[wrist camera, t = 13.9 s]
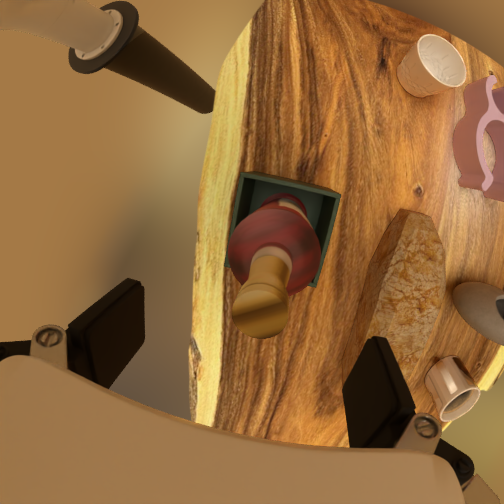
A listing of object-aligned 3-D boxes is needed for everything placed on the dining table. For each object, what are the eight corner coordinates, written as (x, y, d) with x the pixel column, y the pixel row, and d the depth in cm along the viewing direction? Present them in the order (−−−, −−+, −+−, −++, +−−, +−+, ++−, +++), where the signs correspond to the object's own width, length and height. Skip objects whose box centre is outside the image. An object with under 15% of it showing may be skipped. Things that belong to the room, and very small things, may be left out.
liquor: (250, 201, 39) (160, 270, 13) (297, 183, 37) (308, 214, 11) (269, 247, 41) (224, 382, 14) (315, 230, 39) (352, 352, 12)
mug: (416, 392, 46) (430, 427, 35) (431, 351, 42) (451, 387, 32) (452, 383, 44) (469, 414, 34) (468, 343, 41) (491, 374, 30)
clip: (454, 73, 27) (474, 63, 21) (501, 102, 26) (523, 97, 20) (447, 181, 34) (471, 185, 27) (494, 201, 32) (518, 208, 26)
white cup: (430, 62, 28) (459, 42, 18) (438, 105, 30) (471, 93, 21) (389, 53, 29) (411, 28, 20) (396, 97, 31) (423, 79, 22)
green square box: (254, 171, 38) (240, 172, 28) (328, 188, 37) (341, 194, 27) (240, 242, 42) (223, 266, 32) (311, 258, 41) (315, 287, 31)
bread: (380, 388, 47) (390, 423, 37) (331, 387, 48) (335, 424, 38) (438, 216, 35) (472, 231, 26) (380, 204, 37) (406, 216, 27)
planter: (502, 280, 36) (556, 324, 18) (489, 311, 38) (536, 362, 20) (443, 261, 37) (507, 313, 20) (429, 298, 40) (480, 362, 22)
